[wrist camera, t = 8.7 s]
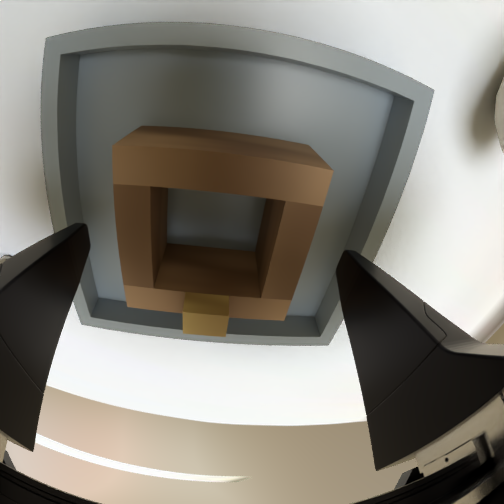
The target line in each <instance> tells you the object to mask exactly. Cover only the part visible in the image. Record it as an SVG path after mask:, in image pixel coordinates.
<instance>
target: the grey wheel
mask: <svg viewBox="0 0 504 504" xmlns="http://www.w3.org/2000/svg"><path fill="white" fill-rule="evenodd" d="M495 125H496V129H497V133H498V137H499V141H500V145H501V148H502V151H503V153H504V78H503V80H502V83H501V85H500V88H499V90H498V93H497V95H496V105H495Z"/></svg>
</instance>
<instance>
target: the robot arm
mask: <svg viewBox="0 0 504 504" xmlns="http://www.w3.org/2000/svg"><path fill="white" fill-rule="evenodd" d="M90 248H91V243H90V237H89V231H88V226H87V224H86V223H74V224H72V225H70V226H68V227H66V228H64V229H62V230H60V231H58V232H56V233H54V234H52V235H50V236H48V237H47V238H45V239H43V240H41V241H39V242H37V243H35V244H34V245H32V246H30V247H28V248H26V249H25V250H23V251H21V252H19V253H18V254H16V255H14V256H12V257H11V258H9V259H7V260H6V261H4V262H3V263H1V264H0V504H101V503H98V502H94V501H91V500H88V499H84V498H81V497H78V496H75V495H72V494H70V493H67V492H64V491H62V490H59V489H56V488H54V487H51V486H49V485H47V484H44V483H42V482H40V481H37V480H35V479H33V478H31V477H29V476H27V475H25V474H23V473H21V472H19V471H17V470H16V469H15V467H14V465H13V463H12V461H11V459H10V457H9V454H8V452H7V451H6V450H5V448H6V444H7V440H9V441H11V442H13V443H14V444H17V445H19V446H21V447H23V448H25V449H27V450H29V451H32V452H33V450H34V444H35V438H36V431H37V425H38V420H39V415H40V410H41V404H42V400H43V396H44V394H43V393H44V390H45V387H46V382H47V379H48V375H49V371H50V367H51V364H52V360H53V357H54V354H55V350H56V347H57V344H58V341H59V338H60V335H61V332H62V329H63V326H64V323H65V320H66V317H67V315H68V312H69V309H70V307H71V304H72V301H73V299H74V296H75V294H76V291H77V289H78V286H79V283H80V280H81V277H82V274H83V270H84V267H85V264H86V261H87V258H88V255H89V252H90ZM336 279H337V284H338V290H339V296H340V303H341V308H342V312H343V316H344V320H345V324H346V328H347V331H348V335H349V339H350V343H351V347H352V351H353V356H354V360H355V364H356V368H357V373H358V377H359V382H360V386H361V391H362V396H363V401H364V406H365V411H366V415H367V422H368V427H369V433H370V439H371V445H372V451H373V457H374V464H375V469H376V471H379V470H382V469H385V468H388V467H391V466H394V465H397V464H400V463H403V462H405V461H408V460H411V459H414V458H416V461H417V465H418V467H416V468H414V469H411V470H409V471H407V472H404V473H403V474H402V475H401V477H400V479H399V481H398V483H397V485H396V487H395V489H394V490H392V491H389V492H386V493H383V494H380V495H377V496H374V497H371V498H368V499H365V500H361V501H358V502H354V503H351V504H504V344H486V343H482V342H479V341H477V340H476V339H474V338H472V337H471V336H470V335H468V334H467V333H466V332H464V331H463V330H462V329H460V328H459V327H457V326H456V325H455V324H453V323H452V322H451V321H449V320H448V319H447V318H445V317H444V316H442V315H441V314H440V313H438V312H437V311H436V310H435V309H433V308H432V307H431V306H429V305H428V304H427V303H426V302H423V300H422V299H420V298H419V297H418V296H416V295H415V294H414V293H413V292H411V291H410V290H409V289H407V288H406V287H405V286H403V285H402V284H401V283H399V282H398V281H397V280H395V279H394V278H393V277H391V276H390V275H389V274H387V273H386V272H384V271H383V270H382V269H380V268H379V267H378V266H376V265H375V264H373V263H372V262H371V261H369V260H368V259H366V258H365V257H364V256H362V255H361V254H359V253H358V252H356V251H354V250H344V251H343V253H342V255H341V257H340V260H339V262H338V265H337V267H336Z"/></svg>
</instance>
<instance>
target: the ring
mask: <svg viewBox="0 0 504 504" xmlns="http://www.w3.org/2000/svg"><path fill="white" fill-rule="evenodd" d="M112 170H113V194H114V210H115V222H116V232H117V242H118V250H119V258H120V266H121V272H122V279H123V285H124V291H125V297H126V302H127V307H132V308H139V309H147V310H156V311H164V312H173V313H183V334H193V335H205V336H217V337H226V332H227V326H228V320H229V318H243V319H260V320H280V321H284V320H285V317H286V314H287V312H288V309H289V306H290V304H291V301H292V298H293V295H294V292H295V290H296V287H297V284H298V281H299V278H300V275H301V273H302V270H303V267H304V264H305V261H306V258H307V255H308V252H309V249H310V246H311V243H312V240H313V237H314V234H315V231H316V228H317V224H318V221H319V218H320V215H321V212H322V209H323V205H324V202H325V199H326V195H327V192H328V189H329V185H330V182H331V179H332V175H333V172H334V170H333V169H332V168H331V167H330V166H329V165H328V164H327V163H326V162H325V161H324V160H323V159H322V158H321V157H320V156H319V155H318V154H317V153H316V152H315V151H314V150H313V149H312V148H311V147H310V146H309V145H306V144H301V143H296V142H291V141H285V140H280V139H274V138H268V137H262V136H255V135H248V134H241V133H233V132H225V131H216V130H206V129H195V128H182V127H166V126H140V127H139V128H137V129H136V130H134V131H133V132H131V133H130V134H128V135H127V136H125V137H124V138H122V139H121V140H119V141H118V142H117V143H115V144H114V145H112ZM168 188H178V189H189V190H200V191H210V192H219V193H228V194H237V195H245V196H253V197H261V198H266V202H265V206H264V211H263V216H262V221H261V225H260V230H259V235H258V240H257V244H256V249H255V252H254V251H243V250H233V249H223V248H213V247H203V246H193V245H182V244H172V243H167V206H168Z"/></svg>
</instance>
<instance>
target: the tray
mask: <svg viewBox="0 0 504 504" xmlns="http://www.w3.org/2000/svg"><path fill="white" fill-rule="evenodd" d="M433 94H434V90H433V89H432V88H430V87H428V86H426V85H424V84H422V83H420V82H418V81H416V80H414V79H412V78H410V77H408V76H406V75H404V74H402V73H400V72H398V71H395V70H393V69H391V68H389V67H386V66H384V65H381V64H379V63H377V62H374V61H372V60H369V59H366V58H364V57H361V56H358V55H356V54H353V53H350V52H347V51H344V50H341V49H338V48H335V47H332V46H328V45H325V44H322V43H318V42H314V41H311V40H307V39H303V38H299V37H295V36H290V35H286V34H281V33H276V32H271V31H265V30H260V29H253V28H247V27H239V26H231V25H222V24H210V23H192V22H150V23H133V24H121V25H112V26H104V27H97V28H90V29H84V30H79V31H74V32H69V33H64V34H60V35H56V36H52V37H48V38H46V42H45V49H44V58H43V69H42V84H41V138H42V153H43V164H44V174H45V182H46V189H47V196H48V203H49V208H50V214H51V219H52V224H53V229H54V233H56V232H58V231H60V230H62V229H64V228H66V227H68V226H70V225H72V224H74V223H86V224H87V226H88V231H89V237H90V243H91V248H90V252H89V255H88V258H87V261H86V264H85V267H84V270H83V274H82V277H81V280H80V283H79V286H78V289H77V291H76V294H75V296H74V299H73V302H74V305H75V308H76V311H77V314H78V316H79V319H80V322H81V324H82V325H87V326H92V327H98V328H103V329H109V330H115V331H122V332H128V333H135V334H142V335H149V336H157V337H165V338H174V339H184V340H194V341H206V342H219V343H234V344H254V345H290V346H320V345H329V343H330V342H331V340H332V338H333V337H334V335H335V333H336V331H337V330H338V328H339V326H340V324H341V323H342V321H343V319H344V316H343V312H342V308H341V303H340V296H339V290H338V284H337V279H336V267H337V265H338V262H339V260H340V257H341V255H342V253H343V251H344V250H354V251H356V252H358V253H359V254H361V255H362V256H364V257H365V258H366V259H368V260H369V261H371V262H372V263H373V261H374V259H375V256H376V254H377V252H378V250H379V248H380V246H381V243H382V241H383V239H384V237H385V234H386V232H387V230H388V227H389V225H390V223H391V220H392V218H393V215H394V213H395V211H396V208H397V206H398V203H399V201H400V198H401V195H402V193H403V190H404V187H405V185H406V182H407V179H408V177H409V174H410V171H411V168H412V165H413V162H414V159H415V156H416V153H417V150H418V147H419V144H420V141H421V138H422V134H423V131H424V128H425V124H426V121H427V117H428V113H429V110H430V106H431V102H432V98H433ZM140 126H166V127H182V128H195V129H206V130H216V131H225V132H233V133H241V134H248V135H255V136H262V137H268V138H274V139H280V140H285V141H291V142H296V143H301V144H306V145H309V146H310V147H311V148H312V149H313V150H314V151H315V152H316V153H317V154H318V155H319V156H320V157H321V158H322V159H323V160H324V161H325V162H326V163H327V164H328V165H329V166H330V167H331V168H332V169H333V170H334V172H333V175H332V179H331V182H330V185H329V189H328V192H327V195H326V199H325V202H324V205H323V209H322V212H321V215H320V218H319V221H318V224H317V228H316V231H315V234H314V237H313V240H312V243H311V246H310V249H309V252H308V255H307V258H306V261H305V264H304V267H303V270H302V273H301V275H300V278H299V281H298V284H297V287H296V290H295V292H294V295H293V298H292V301H291V304H290V306H289V309H288V312H287V314H286V317H285V320H284V321H280V320H260V319H243V318H229V320H228V326H227V332H226V337H217V336H205V335H193V334H183V313H173V312H164V311H156V310H147V309H139V308H132V307H127V302H126V297H125V291H124V285H123V279H122V272H121V266H120V258H119V250H118V242H117V232H116V222H115V210H114V194H113V170H112V145H114V144H115V143H117V142H118V141H119V140H121V139H122V138H124V137H125V136H127V135H128V134H130V133H131V132H133V131H134V130H136V129H137V128H139V127H140ZM265 202H266V198H261V197H253V196H245V195H237V194H228V193H219V192H210V191H200V190H189V189H178V188H168V206H167V243H172V244H182V245H193V246H203V247H213V248H223V249H233V250H243V251H254V252H255V249H256V244H257V240H258V235H259V230H260V225H261V221H262V216H263V211H264V206H265Z"/></svg>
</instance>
